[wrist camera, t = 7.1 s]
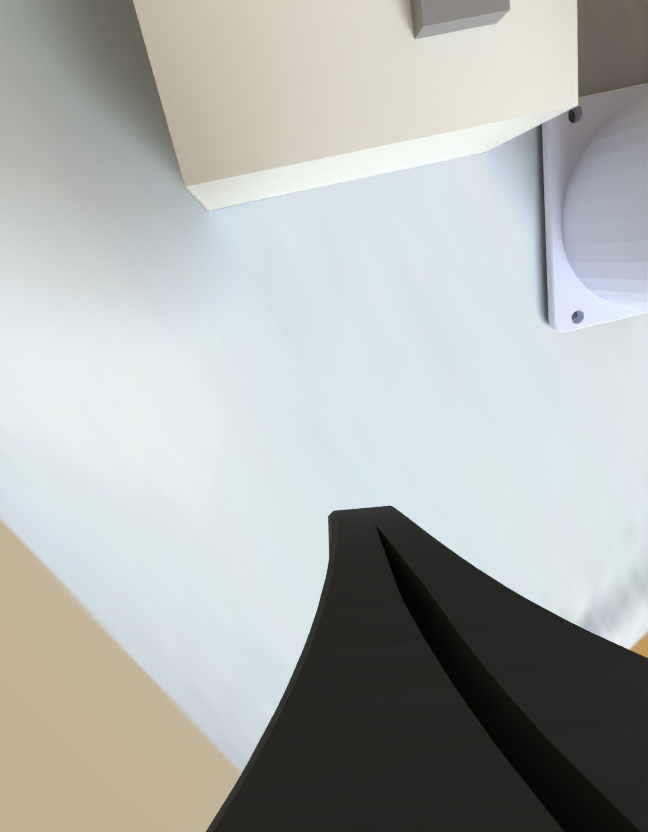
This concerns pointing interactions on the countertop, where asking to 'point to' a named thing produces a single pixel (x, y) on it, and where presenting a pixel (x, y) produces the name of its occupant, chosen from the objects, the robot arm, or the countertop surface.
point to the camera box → (349, 85)
